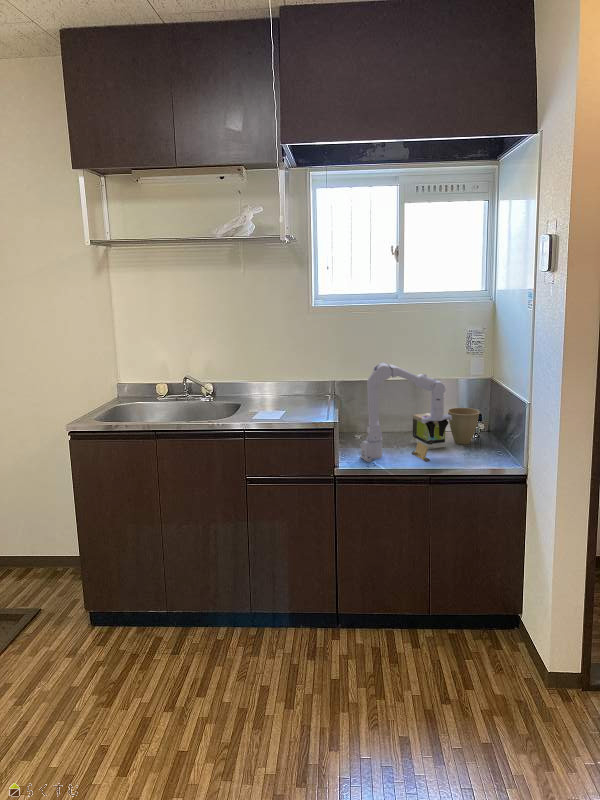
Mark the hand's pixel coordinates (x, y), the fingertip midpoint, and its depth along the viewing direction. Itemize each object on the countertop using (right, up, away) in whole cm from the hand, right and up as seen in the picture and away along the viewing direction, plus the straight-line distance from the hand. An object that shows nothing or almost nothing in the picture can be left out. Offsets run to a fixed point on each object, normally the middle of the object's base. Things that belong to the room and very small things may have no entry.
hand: (436, 436), depth 275 cm
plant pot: (+18, -4, +23) cm, 30 cm away
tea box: (0, -6, +19) cm, 20 cm away
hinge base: (-4, -10, +1) cm, 11 cm away
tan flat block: (-8, -7, -1) cm, 10 cm away
